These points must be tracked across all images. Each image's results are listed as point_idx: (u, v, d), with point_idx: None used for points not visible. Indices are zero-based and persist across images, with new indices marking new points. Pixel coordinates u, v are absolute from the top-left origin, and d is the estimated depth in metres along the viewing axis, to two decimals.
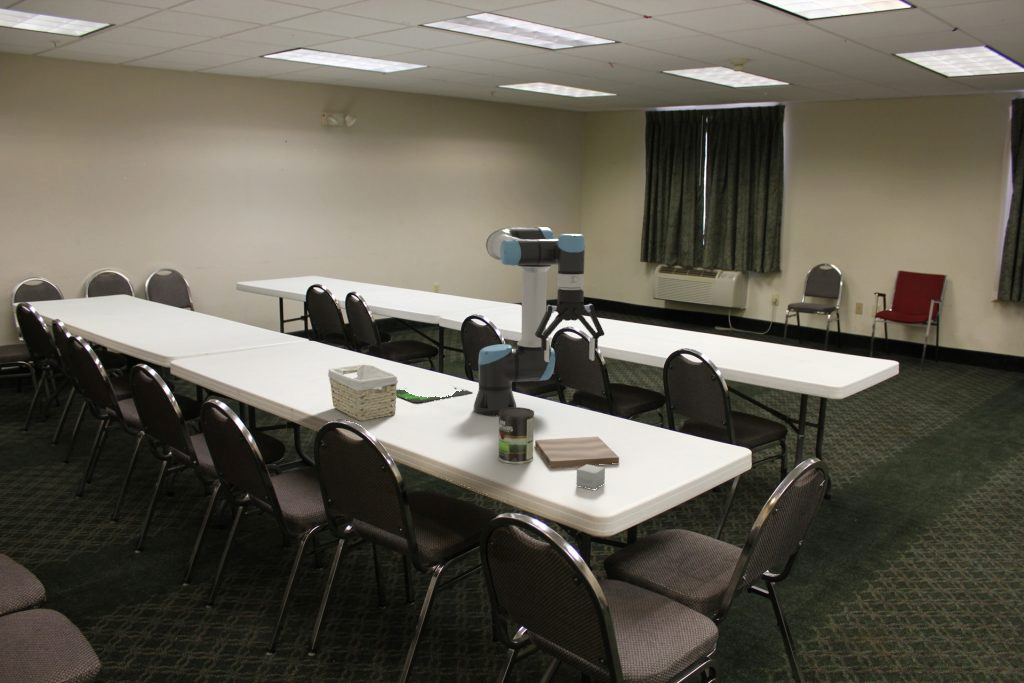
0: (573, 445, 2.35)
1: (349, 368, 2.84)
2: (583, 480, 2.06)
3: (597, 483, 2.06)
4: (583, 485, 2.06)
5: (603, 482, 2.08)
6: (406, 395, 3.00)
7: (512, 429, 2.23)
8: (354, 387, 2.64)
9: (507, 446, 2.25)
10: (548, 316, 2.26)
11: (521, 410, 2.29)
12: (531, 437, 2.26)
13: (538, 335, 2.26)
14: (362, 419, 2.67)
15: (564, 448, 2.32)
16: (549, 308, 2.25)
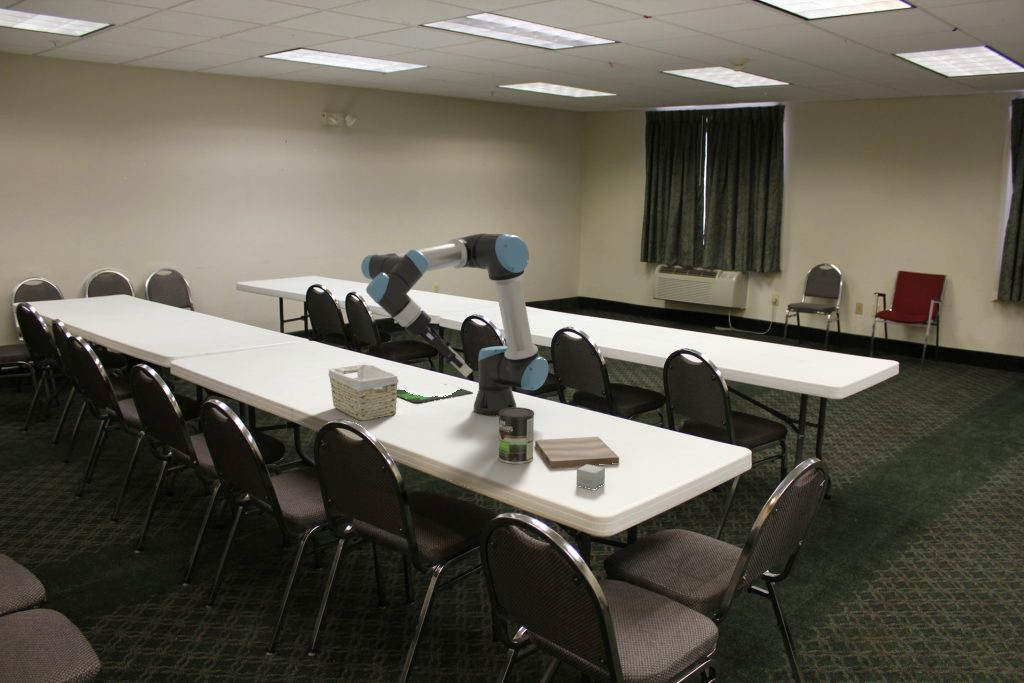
0: (573, 445, 2.35)
1: (350, 368, 2.84)
2: (583, 480, 2.06)
3: (597, 483, 2.06)
4: (583, 485, 2.06)
5: (603, 482, 2.08)
6: (406, 395, 3.00)
7: (512, 429, 2.23)
8: (355, 387, 2.64)
9: (507, 446, 2.25)
10: None
11: (521, 410, 2.29)
12: (531, 437, 2.26)
13: None
14: (363, 419, 2.67)
15: (564, 448, 2.32)
16: None
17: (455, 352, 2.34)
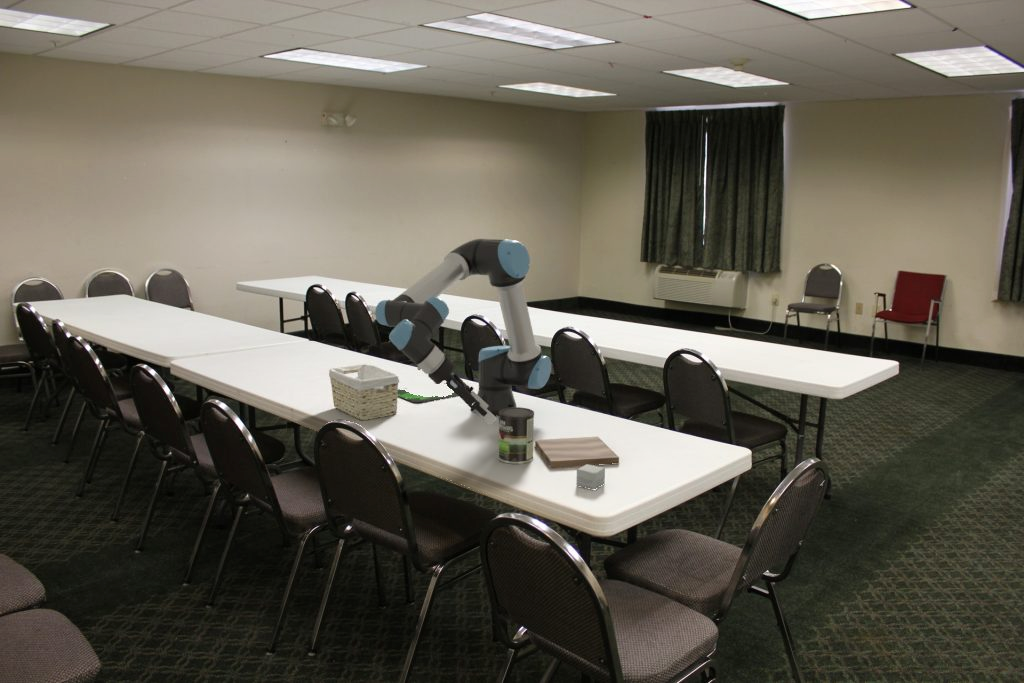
0: (573, 445, 2.35)
1: (350, 368, 2.84)
2: (583, 480, 2.06)
3: (597, 483, 2.06)
4: (583, 485, 2.06)
5: (603, 482, 2.08)
6: (406, 395, 3.00)
7: (512, 429, 2.23)
8: (356, 387, 2.65)
9: (507, 446, 2.25)
10: None
11: (521, 410, 2.29)
12: (531, 437, 2.26)
13: None
14: (364, 419, 2.67)
15: (564, 448, 2.32)
16: None
17: (479, 397, 2.30)
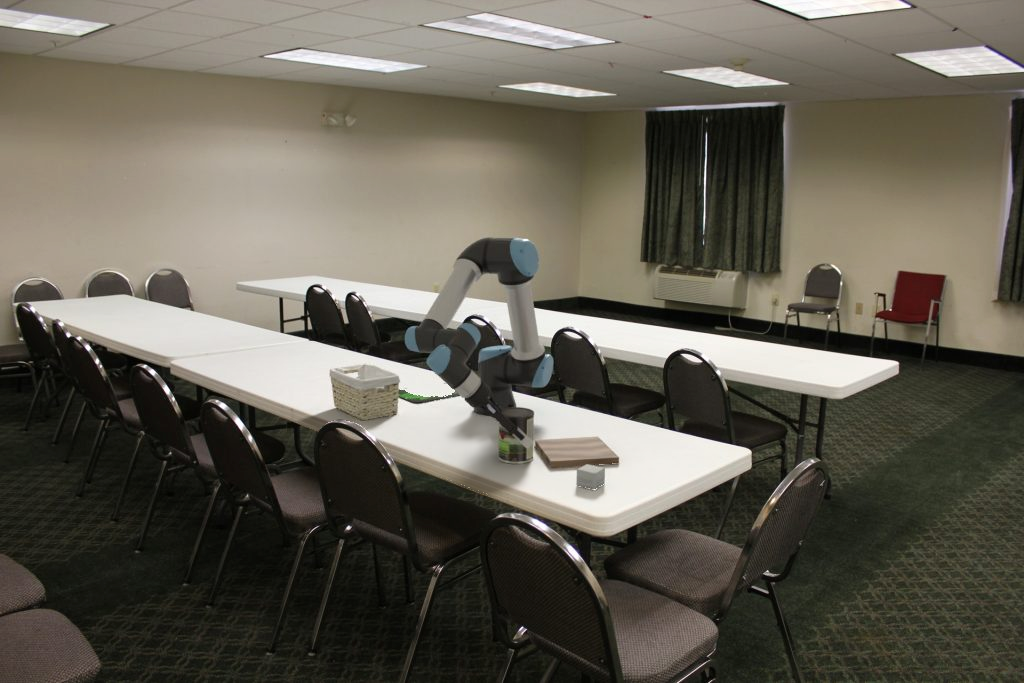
0: (573, 445, 2.35)
1: (350, 368, 2.85)
2: (583, 480, 2.06)
3: (597, 483, 2.06)
4: (583, 485, 2.06)
5: (603, 482, 2.08)
6: (406, 395, 3.00)
7: None
8: (357, 387, 2.65)
9: (507, 446, 2.25)
10: None
11: (521, 410, 2.29)
12: (531, 437, 2.26)
13: None
14: (365, 418, 2.68)
15: (564, 448, 2.32)
16: None
17: None
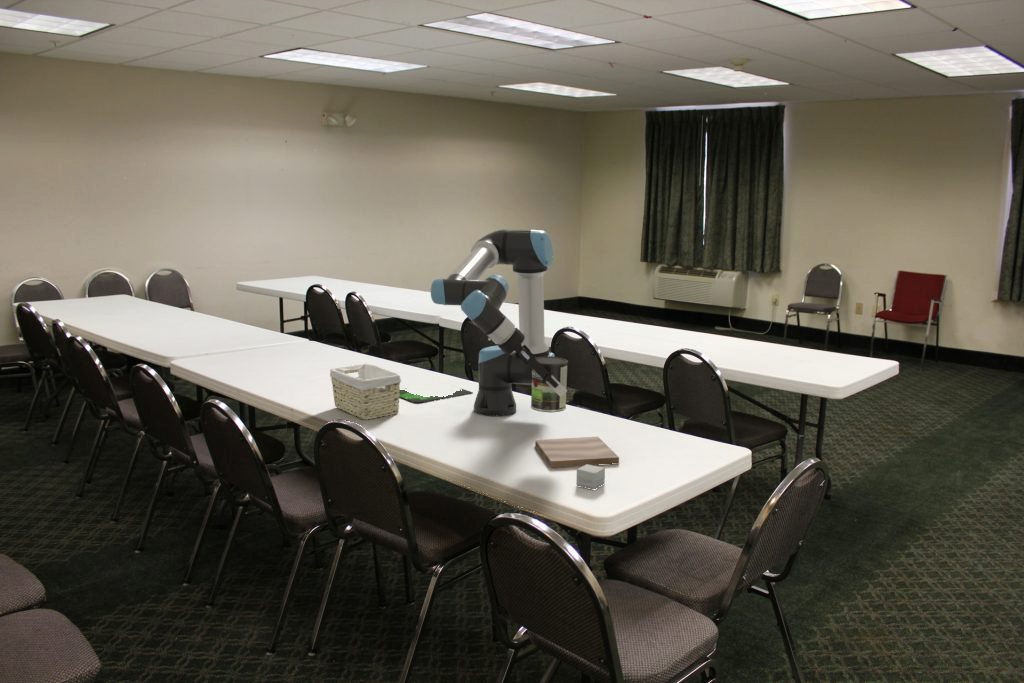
0: (573, 445, 2.35)
1: (351, 368, 2.85)
2: (583, 480, 2.06)
3: (597, 483, 2.06)
4: (583, 485, 2.06)
5: (603, 482, 2.08)
6: (406, 395, 3.00)
7: None
8: (358, 386, 2.65)
9: (540, 394, 2.23)
10: None
11: (554, 359, 2.27)
12: (564, 386, 2.24)
13: None
14: (366, 418, 2.68)
15: (564, 448, 2.32)
16: None
17: None
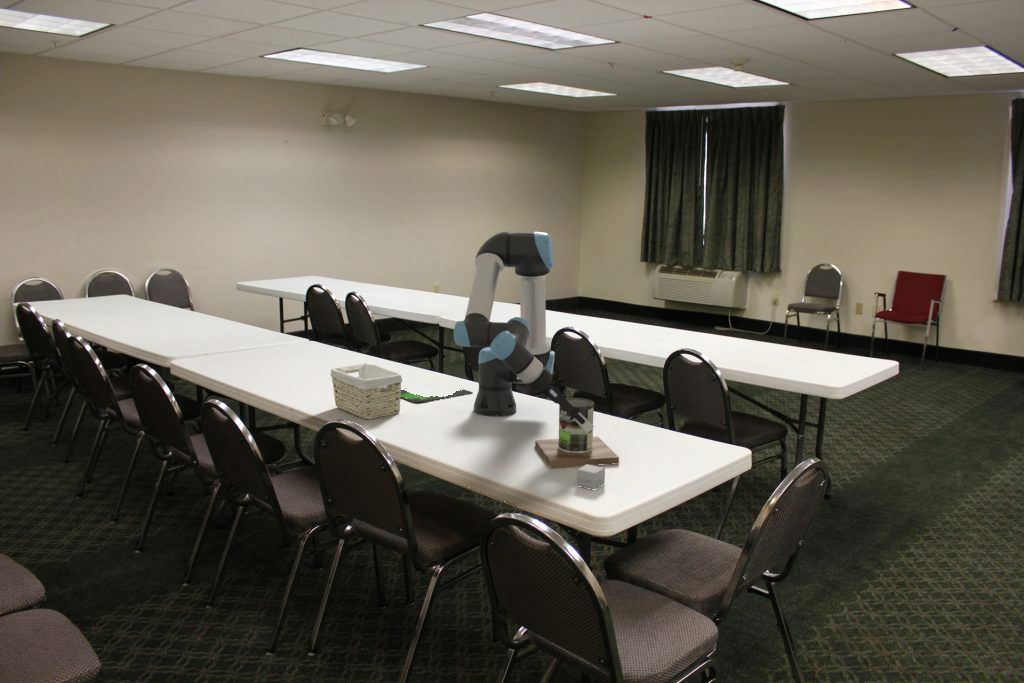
0: None
1: (351, 368, 2.85)
2: (583, 480, 2.06)
3: (597, 483, 2.06)
4: (583, 485, 2.06)
5: (603, 482, 2.08)
6: (406, 395, 3.00)
7: None
8: (360, 386, 2.66)
9: (568, 435, 2.28)
10: None
11: (581, 400, 2.32)
12: None
13: None
14: (368, 418, 2.68)
15: None
16: None
17: None
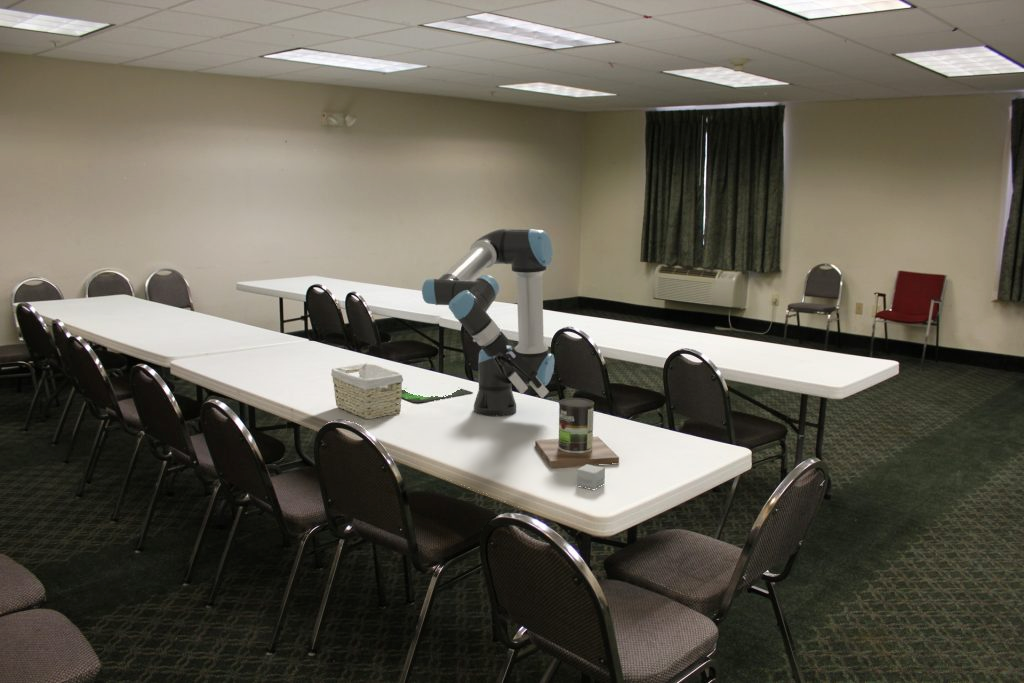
0: None
1: (352, 368, 2.85)
2: (583, 480, 2.06)
3: (597, 483, 2.06)
4: (583, 485, 2.06)
5: (603, 482, 2.08)
6: (406, 395, 3.00)
7: (574, 419, 2.26)
8: (361, 386, 2.66)
9: (568, 435, 2.28)
10: (495, 360, 2.32)
11: (580, 400, 2.33)
12: (591, 427, 2.29)
13: (502, 373, 2.36)
14: (369, 418, 2.69)
15: None
16: None
17: (520, 378, 2.35)
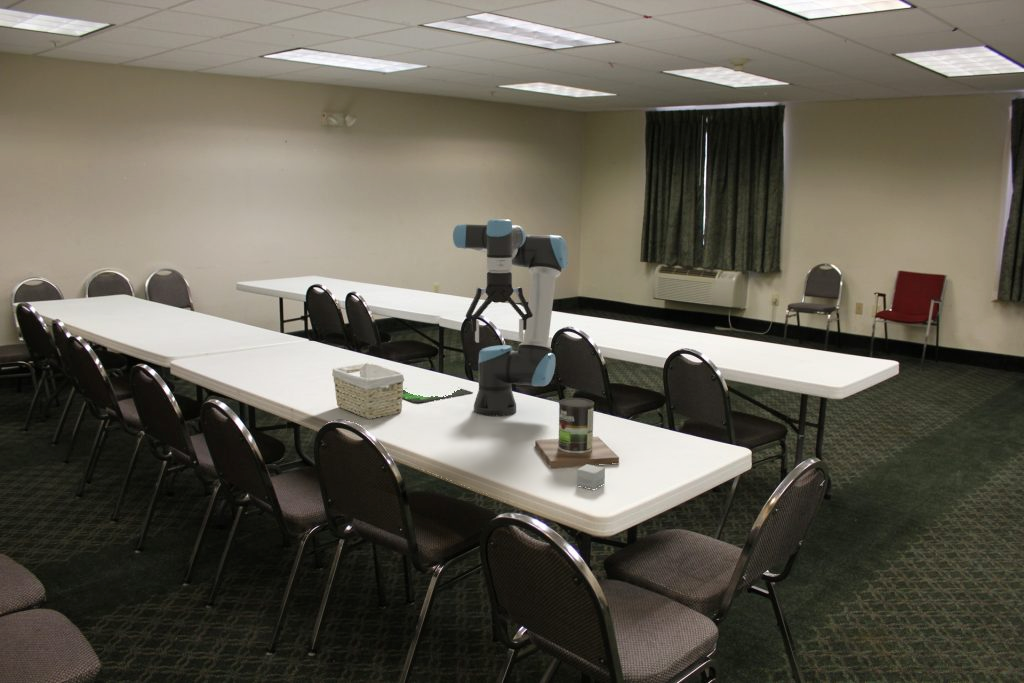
0: None
1: (353, 367, 2.86)
2: (583, 480, 2.06)
3: (597, 483, 2.06)
4: (583, 485, 2.06)
5: (603, 482, 2.08)
6: (406, 395, 3.00)
7: (574, 419, 2.26)
8: (363, 386, 2.66)
9: (568, 435, 2.28)
10: (477, 298, 2.35)
11: (580, 400, 2.33)
12: (591, 427, 2.29)
13: (468, 316, 2.35)
14: (370, 417, 2.69)
15: None
16: (478, 290, 2.35)
17: None
